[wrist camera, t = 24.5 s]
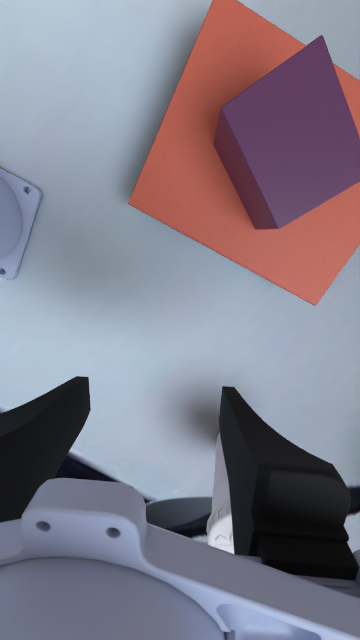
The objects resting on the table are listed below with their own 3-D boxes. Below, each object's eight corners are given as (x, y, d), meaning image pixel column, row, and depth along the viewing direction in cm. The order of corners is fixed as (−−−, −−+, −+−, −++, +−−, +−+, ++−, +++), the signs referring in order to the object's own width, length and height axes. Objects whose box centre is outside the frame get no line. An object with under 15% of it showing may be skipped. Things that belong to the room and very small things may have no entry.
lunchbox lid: (431, 135, 16) (439, 132, 15) (312, 304, 19) (315, 306, 19) (217, -4, 14) (217, -13, 14) (129, 204, 18) (127, 203, 17)
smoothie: (247, 402, 26) (299, 579, 13) (278, 448, 28) (356, 650, 14) (191, 431, 28) (186, 617, 14) (224, 473, 29) (248, 679, 16)
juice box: (256, 230, 17) (278, 230, 13) (212, 142, 16) (219, 105, 11) (322, 191, 16) (374, 174, 12) (282, 94, 15) (322, 31, 10)
